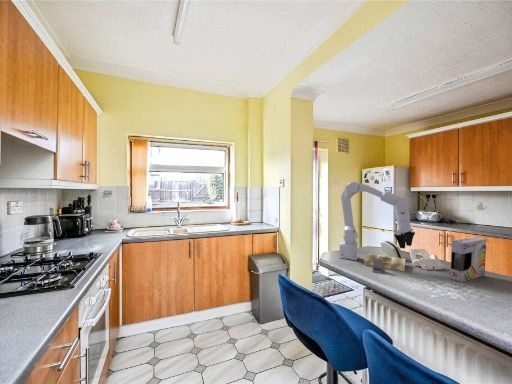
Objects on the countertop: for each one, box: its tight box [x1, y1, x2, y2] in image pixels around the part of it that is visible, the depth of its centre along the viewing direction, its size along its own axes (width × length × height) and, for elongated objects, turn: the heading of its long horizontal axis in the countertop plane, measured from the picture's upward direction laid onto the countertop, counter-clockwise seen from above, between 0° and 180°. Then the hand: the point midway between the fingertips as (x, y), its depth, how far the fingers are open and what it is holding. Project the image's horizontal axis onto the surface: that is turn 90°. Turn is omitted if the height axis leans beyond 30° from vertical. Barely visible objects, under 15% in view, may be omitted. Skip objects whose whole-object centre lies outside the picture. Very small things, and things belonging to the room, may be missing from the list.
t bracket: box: [371, 258, 384, 274], centre depth 119 cm, size 4×7×6 cm, turn 147°
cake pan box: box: [450, 236, 487, 283], centre depth 110 cm, size 19×5×18 cm, turn 112°
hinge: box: [380, 240, 407, 262], centre depth 144 cm, size 17×5×10 cm, turn 178°
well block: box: [364, 253, 406, 272], centre depth 128 cm, size 18×13×3 cm
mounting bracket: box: [409, 248, 445, 271], centre depth 125 cm, size 12×6×11 cm, turn 92°
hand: (405, 247), depth 126 cm, fingers open, 7 cm apart
